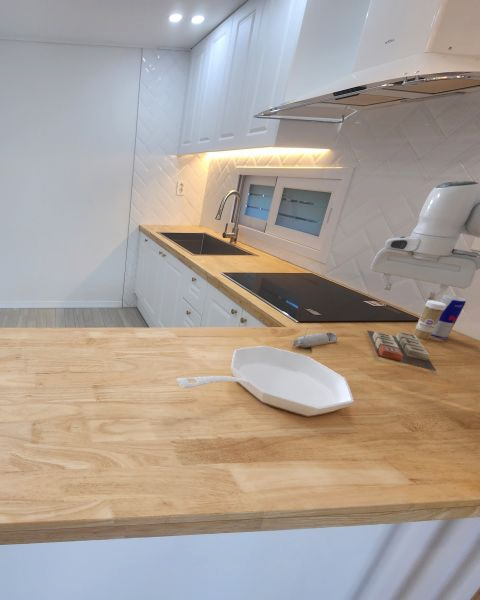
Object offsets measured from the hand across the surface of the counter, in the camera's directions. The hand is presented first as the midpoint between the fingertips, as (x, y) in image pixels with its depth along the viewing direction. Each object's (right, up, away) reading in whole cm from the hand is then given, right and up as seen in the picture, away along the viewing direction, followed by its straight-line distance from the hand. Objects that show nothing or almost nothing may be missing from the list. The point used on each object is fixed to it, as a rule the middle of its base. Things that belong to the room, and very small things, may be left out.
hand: (408, 294), depth 94 cm
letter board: (+8, -18, +12) cm, 23 cm away
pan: (-50, -24, -12) cm, 57 cm away
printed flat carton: (+13, -17, +12) cm, 25 cm away
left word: (+5, -16, +14) cm, 22 cm away
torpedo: (-18, -16, +13) cm, 27 cm away
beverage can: (+32, -15, +23) cm, 42 cm away
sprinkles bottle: (+25, -15, +21) cm, 36 cm away
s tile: (+1, -18, +7) cm, 20 cm away
